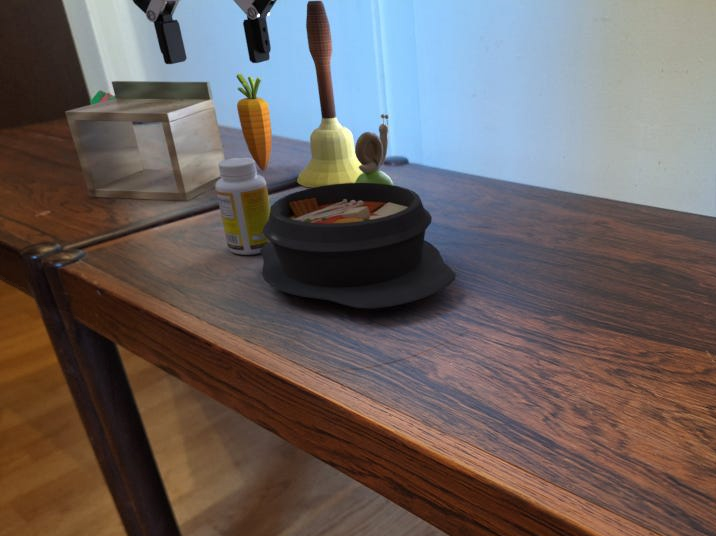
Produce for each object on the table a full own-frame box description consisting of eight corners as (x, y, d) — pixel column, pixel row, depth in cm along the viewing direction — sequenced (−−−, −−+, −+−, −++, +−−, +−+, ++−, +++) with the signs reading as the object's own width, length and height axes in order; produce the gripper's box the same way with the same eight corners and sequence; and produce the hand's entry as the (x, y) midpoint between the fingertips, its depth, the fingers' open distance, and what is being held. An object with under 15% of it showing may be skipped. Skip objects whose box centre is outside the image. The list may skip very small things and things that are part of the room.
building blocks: (124, 142, 159) (152, 112, 153) (87, 125, 153) (115, 93, 147) (125, 117, 163) (152, 86, 157) (89, 99, 156) (116, 66, 150)
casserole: (223, 269, 77) (207, 194, 73) (365, 230, 88) (358, 163, 84) (339, 348, 61) (327, 257, 57) (498, 289, 71) (498, 208, 67)
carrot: (284, 169, 116) (269, 73, 108) (258, 175, 113) (241, 76, 105) (268, 165, 119) (252, 70, 111) (242, 170, 116) (224, 74, 108)
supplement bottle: (282, 240, 85) (268, 155, 80) (270, 256, 81) (254, 167, 76) (237, 240, 86) (220, 156, 81) (222, 257, 81) (203, 168, 76)
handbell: (380, 167, 116) (365, -2, 104) (368, 187, 105) (349, 1, 93) (307, 168, 116) (283, 0, 104) (287, 188, 106) (258, 3, 93)
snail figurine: (408, 205, 97) (402, 115, 91) (378, 218, 92) (370, 124, 86) (378, 200, 99) (370, 112, 94) (347, 212, 95) (337, 120, 89)
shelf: (90, 197, 104) (59, 93, 97) (139, 176, 114) (114, 80, 107) (187, 201, 101) (162, 94, 94) (228, 179, 111) (209, 81, 104)
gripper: (68, -136, 63) (122, 67, 71) (243, -149, 60) (278, 65, 68) (120, -127, 69) (164, 59, 78) (281, -139, 66) (309, 56, 75)
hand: (217, 62), depth 73 cm, fingers open, 9 cm apart
